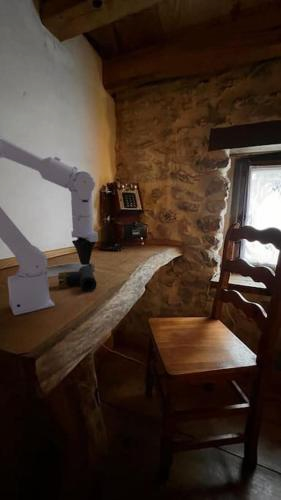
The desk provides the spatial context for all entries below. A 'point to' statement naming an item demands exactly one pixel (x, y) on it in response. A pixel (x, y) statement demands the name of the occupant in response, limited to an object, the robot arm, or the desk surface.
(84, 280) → the pipe connector
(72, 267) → the guide dock
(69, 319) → the desk surface
